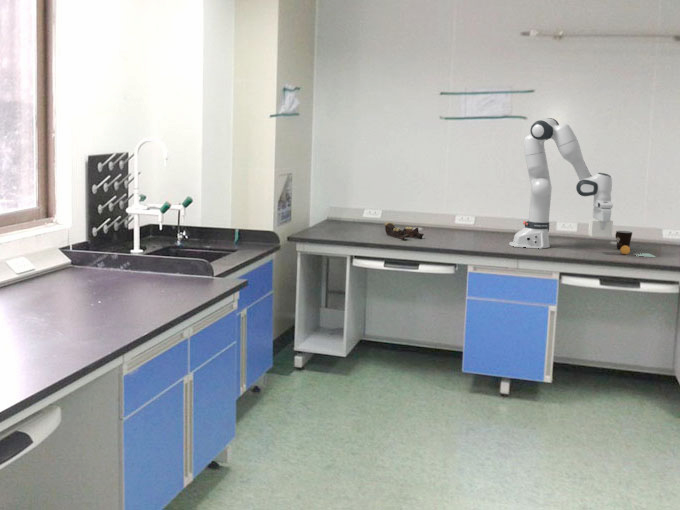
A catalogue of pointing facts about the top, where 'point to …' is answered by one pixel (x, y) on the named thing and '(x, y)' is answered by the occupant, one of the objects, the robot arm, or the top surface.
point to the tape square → (645, 255)
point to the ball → (625, 249)
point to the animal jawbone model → (401, 232)
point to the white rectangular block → (599, 228)
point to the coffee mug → (623, 238)
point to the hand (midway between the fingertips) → (600, 228)
